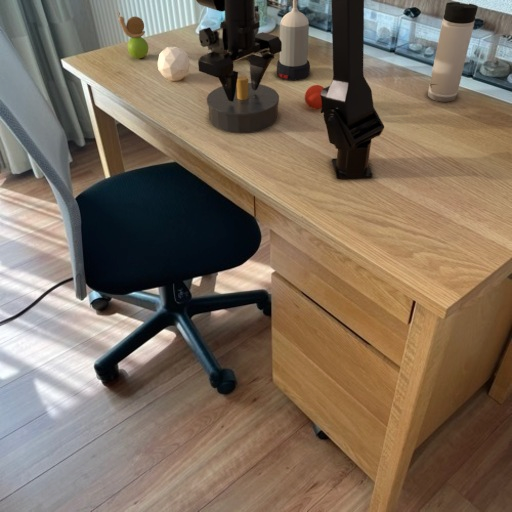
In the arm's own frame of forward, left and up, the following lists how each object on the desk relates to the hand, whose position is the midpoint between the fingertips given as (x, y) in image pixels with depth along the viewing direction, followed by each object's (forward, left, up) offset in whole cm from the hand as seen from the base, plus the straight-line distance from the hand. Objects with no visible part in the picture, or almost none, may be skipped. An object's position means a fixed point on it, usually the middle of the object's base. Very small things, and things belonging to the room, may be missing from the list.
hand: (242, 95), depth 111 cm
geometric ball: (+22, +16, -5) cm, 28 cm away
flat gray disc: (0, 0, -1) cm, 1 cm away
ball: (+3, -16, -2) cm, 16 cm away
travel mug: (+6, -45, -5) cm, 46 cm away
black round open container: (0, 0, -5) cm, 5 cm away
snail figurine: (+37, +27, -5) cm, 46 cm away
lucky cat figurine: (+36, +1, -5) cm, 36 cm away
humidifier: (+22, -13, -5) cm, 26 cm away
